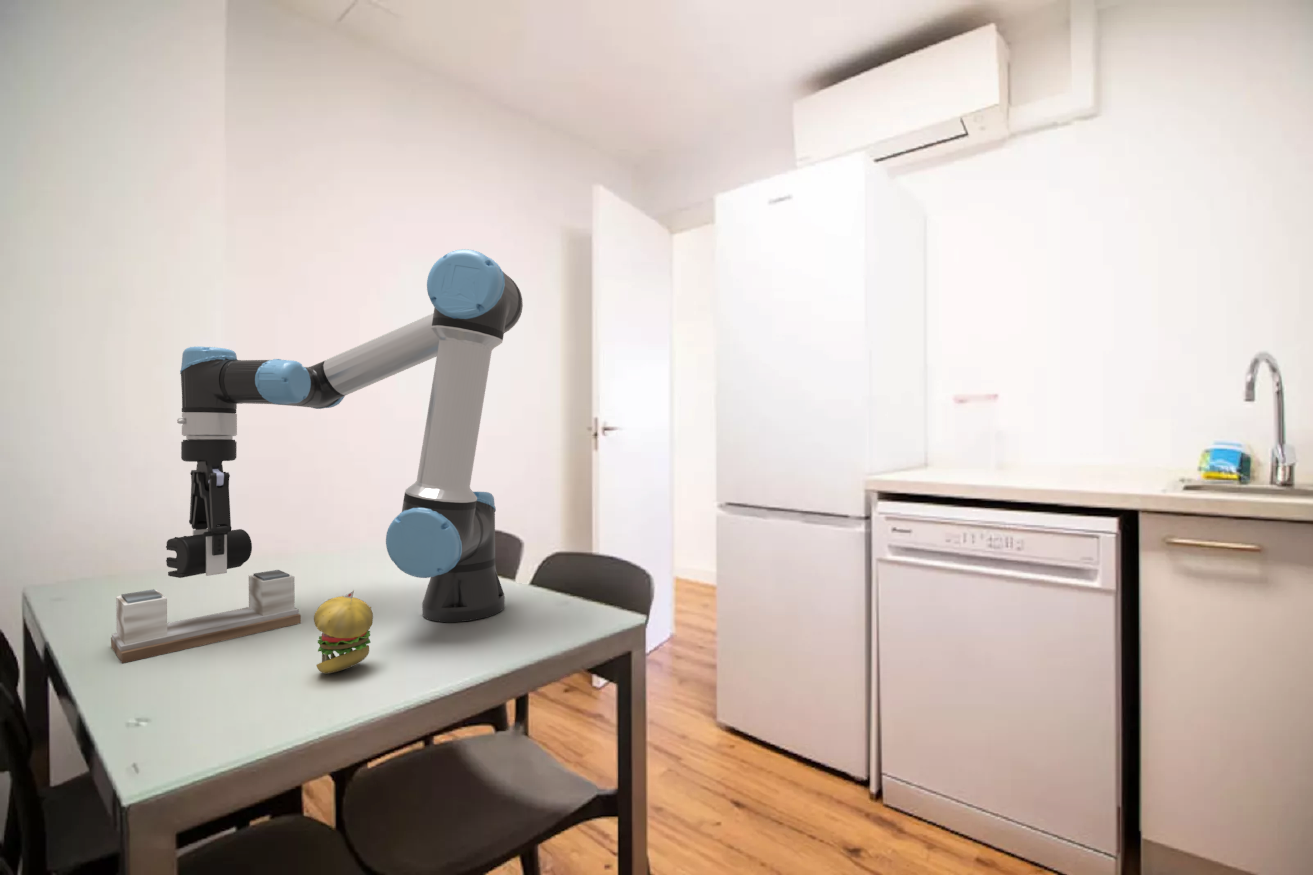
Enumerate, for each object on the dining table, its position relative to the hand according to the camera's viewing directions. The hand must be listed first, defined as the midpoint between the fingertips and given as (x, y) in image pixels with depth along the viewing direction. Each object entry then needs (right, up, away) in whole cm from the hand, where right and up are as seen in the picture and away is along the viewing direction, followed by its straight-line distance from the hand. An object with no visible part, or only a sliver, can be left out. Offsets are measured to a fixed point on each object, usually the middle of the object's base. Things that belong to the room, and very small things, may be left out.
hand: (209, 569), depth 99 cm
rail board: (0, -11, 0) cm, 11 cm away
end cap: (0, -1, 0) cm, 1 cm away
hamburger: (+32, -11, -17) cm, 38 cm away
